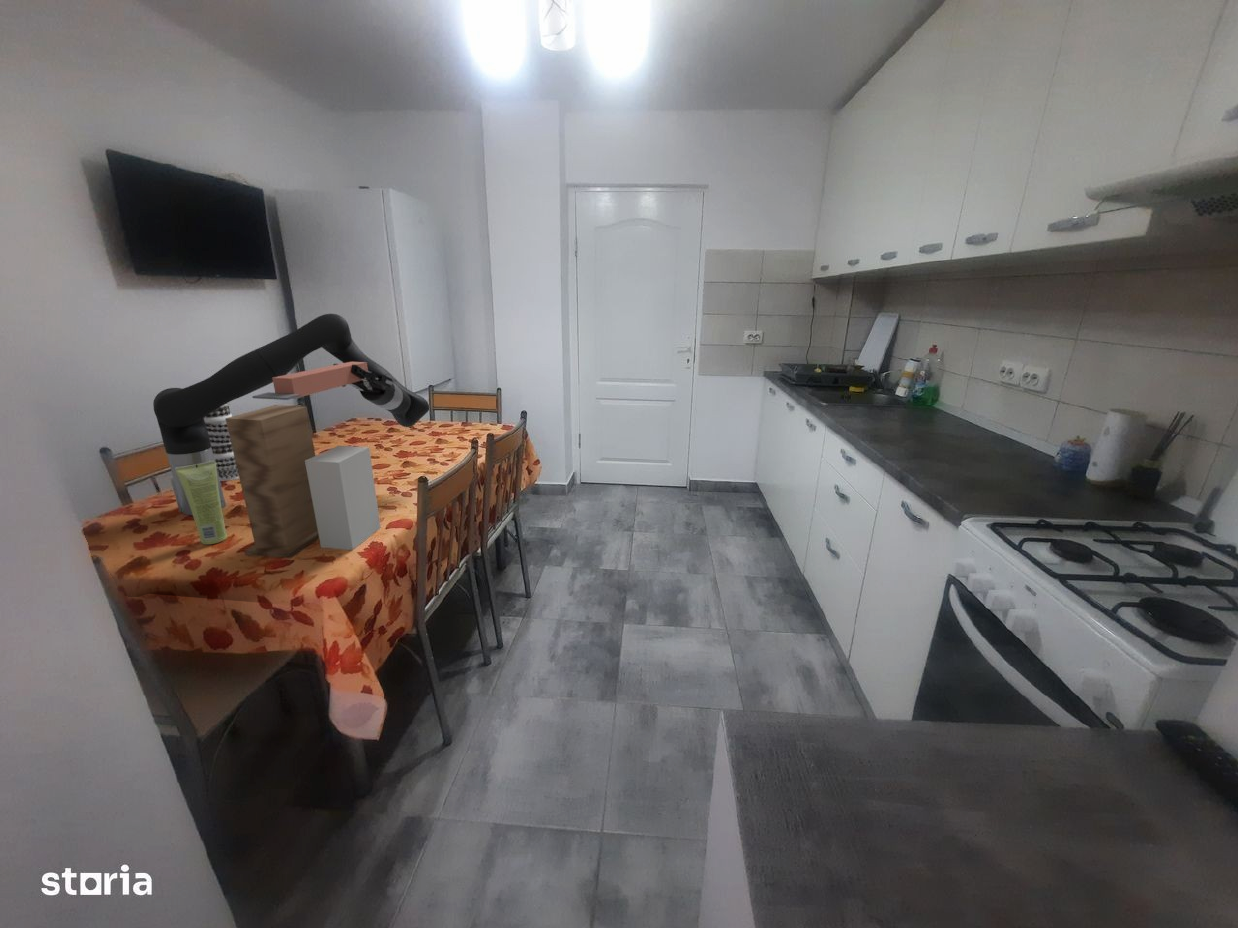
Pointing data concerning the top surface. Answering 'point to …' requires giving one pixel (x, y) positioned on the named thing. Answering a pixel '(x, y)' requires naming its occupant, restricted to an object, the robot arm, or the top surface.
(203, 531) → the tube
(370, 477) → the light grey rectangular block
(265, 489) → the stand
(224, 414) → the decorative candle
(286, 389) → the scraper
